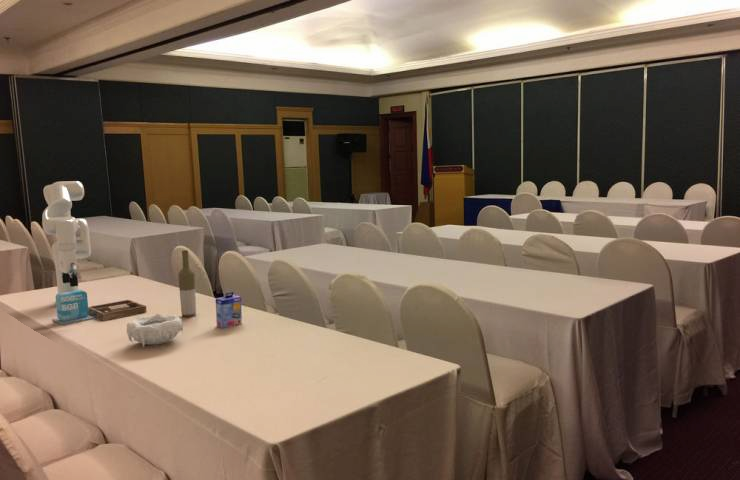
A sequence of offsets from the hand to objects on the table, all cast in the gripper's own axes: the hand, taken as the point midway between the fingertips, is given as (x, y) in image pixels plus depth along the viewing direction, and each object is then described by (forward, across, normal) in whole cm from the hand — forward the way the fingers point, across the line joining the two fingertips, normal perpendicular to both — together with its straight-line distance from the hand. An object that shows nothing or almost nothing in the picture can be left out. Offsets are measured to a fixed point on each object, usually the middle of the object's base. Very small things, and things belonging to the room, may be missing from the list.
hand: (70, 284), depth 264 cm
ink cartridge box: (+15, +63, +42) cm, 77 cm away
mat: (+16, +1, 0) cm, 16 cm away
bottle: (+16, +35, +38) cm, 54 cm away
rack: (+16, +3, +18) cm, 25 cm away
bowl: (+15, +64, +9) cm, 66 cm away
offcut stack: (+16, +7, +17) cm, 25 cm away
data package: (+16, +1, 0) cm, 16 cm away
